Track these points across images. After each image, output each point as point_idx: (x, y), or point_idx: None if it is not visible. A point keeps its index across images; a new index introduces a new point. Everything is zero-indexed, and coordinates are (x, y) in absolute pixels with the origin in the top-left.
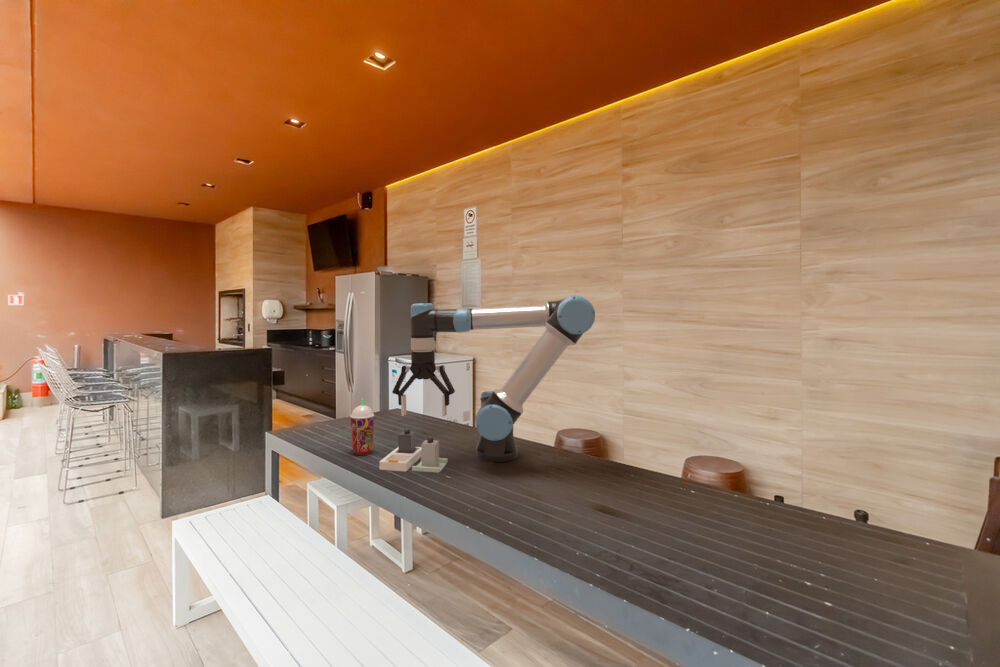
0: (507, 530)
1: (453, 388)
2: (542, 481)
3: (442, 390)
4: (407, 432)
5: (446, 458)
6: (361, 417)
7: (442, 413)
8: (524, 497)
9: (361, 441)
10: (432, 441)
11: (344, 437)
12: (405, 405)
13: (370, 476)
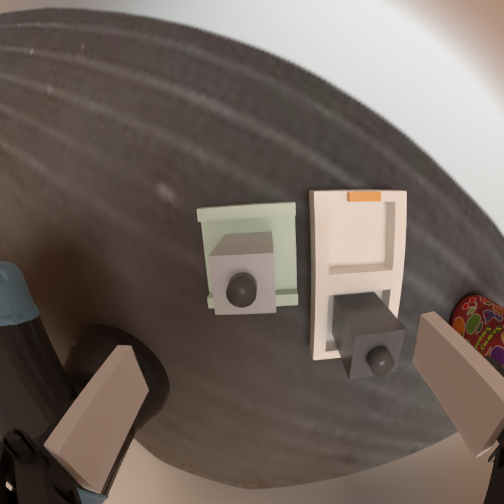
0: (37, 31)
1: (14, 495)
2: (5, 231)
3: (33, 494)
4: (375, 350)
5: (212, 307)
6: None
7: (122, 357)
8: (13, 144)
9: (487, 308)
10: (229, 281)
11: None
12: (443, 389)
13: (395, 141)
